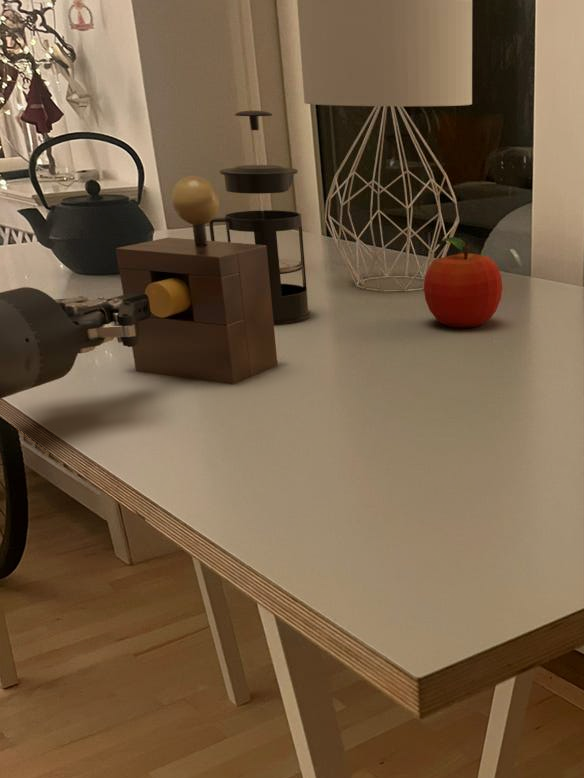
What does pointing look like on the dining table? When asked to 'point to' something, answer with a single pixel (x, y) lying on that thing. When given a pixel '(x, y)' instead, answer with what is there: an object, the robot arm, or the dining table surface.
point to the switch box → (203, 298)
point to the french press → (268, 228)
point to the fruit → (463, 287)
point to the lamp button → (168, 297)
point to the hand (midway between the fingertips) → (143, 304)
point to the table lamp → (387, 85)
